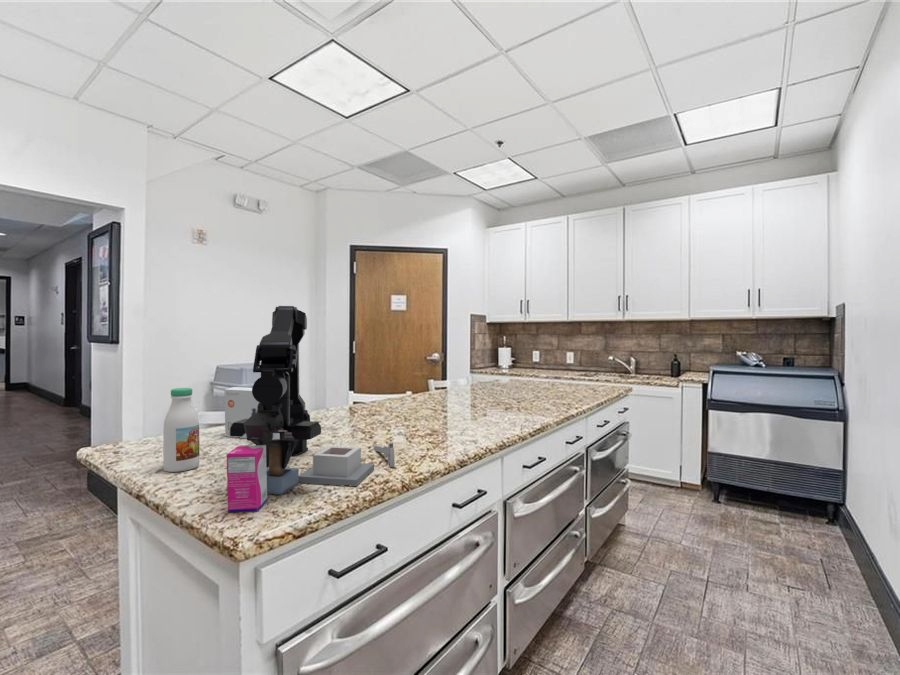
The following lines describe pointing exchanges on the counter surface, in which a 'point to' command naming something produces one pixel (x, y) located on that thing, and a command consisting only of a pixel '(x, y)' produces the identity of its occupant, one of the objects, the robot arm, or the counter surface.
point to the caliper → (387, 452)
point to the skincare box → (240, 407)
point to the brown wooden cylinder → (275, 458)
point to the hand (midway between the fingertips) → (275, 467)
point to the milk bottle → (181, 433)
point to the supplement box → (246, 478)
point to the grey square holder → (337, 467)
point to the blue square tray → (282, 481)
